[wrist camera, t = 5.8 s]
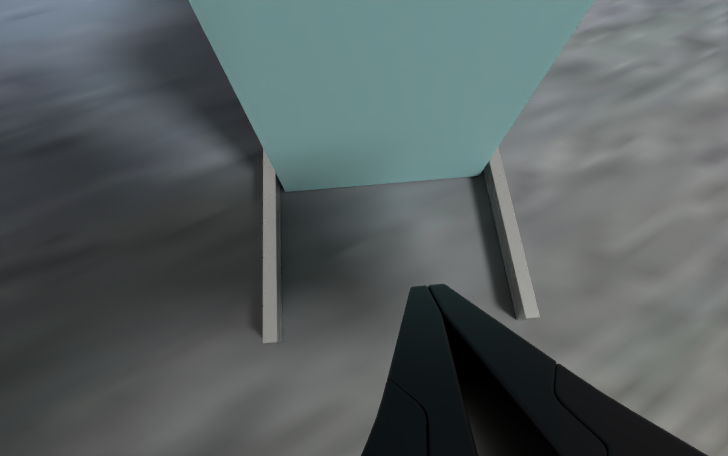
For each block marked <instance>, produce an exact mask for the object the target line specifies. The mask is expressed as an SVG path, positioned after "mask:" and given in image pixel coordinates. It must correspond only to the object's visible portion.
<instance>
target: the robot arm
mask: <svg viewBox="0 0 728 456" xmlns="http://www.w3.org/2000/svg"><path fill="white" fill-rule="evenodd" d="M361 456H708V455H706V454H704V453H702V452H701V451H699V450H697V449H696V448H694V447H692V446H691V445H689V444H687V443H686V442H684V441H682V440H680V439H679V438H677V437H675V436H674V435H672V434H670V433H669V432H667V431H665V430H664V429H662V428H660V427H659V426H657V425H655V424H653V423H652V422H650V421H648V420H647V419H645V418H643V417H642V416H640V415H638V414H637V413H635V412H633V411H632V410H630V409H628V408H627V407H625V406H623V405H622V404H620V403H619V402H617V401H615V400H614V399H612V398H610V397H609V396H607V395H605V394H604V393H602V392H601V391H599V390H598V389H596V388H595V387H593V386H592V385H590V384H589V383H587V382H586V381H584V380H583V379H581V378H580V377H578V376H577V375H575V374H574V373H572V372H571V371H569V370H568V369H566V368H565V367H564V366H562V365H561V364H557V365H556V361H555V360H553V359H552V358H550V357H549V356H547V355H546V354H545V353H543V352H542V351H540V350H539V349H537V348H536V347H535V346H533V345H532V344H530V343H529V342H527V341H526V340H524V339H523V338H522V337H520V336H519V335H517V334H516V333H514V332H513V331H511V330H510V329H509V328H507V327H506V326H504V325H503V324H501V323H500V322H498V321H497V320H496V319H494V318H493V317H491V316H490V315H488V314H487V313H485V312H484V311H483V310H481V309H480V308H478V307H477V306H475V305H474V304H473V303H471V302H470V301H468V300H467V299H465V298H464V297H462V296H461V295H460V294H458V293H457V292H455V291H454V290H452V289H451V288H449V287H448V286H447V285H445V284H436V285H429V286H428V287H427V286H414V287H411V288H410V292H409V296H408V300H407V304H406V307H405V311H404V315H403V319H402V323H401V327H400V331H399V335H398V339H397V343H396V347H395V351H394V355H393V359H392V363H391V367H390V371H389V375H388V379H387V382H386V386H385V389H384V393H383V397H382V400H381V404H380V407H379V410H378V414H377V417H376V419H375V422H374V425H373V427H372V430H371V433H370V435H369V438H368V440H367V443H366V445H365V447H364V450H363V452H362V454H361Z"/></svg>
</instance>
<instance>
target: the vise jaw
mask: <svg viewBox="0 0 728 456" xmlns="http://www.w3.org/2000/svg"><path fill="white" fill-rule="evenodd" d="M188 1H189V3H190V5H191V7H192V9H193V11H194V13H195V14H196V16H197V18H198V20H199V22H200V24H201V26H202V28H203V30H204V32H205V34H206V36H207V38H208V40H209V42H210V44H211V46H212V48H213V50H214V52H215V54H216V56H217V58H218V60H219V62H220V64H221V66H222V68H223V70H224V72H225V74H226V76H227V78H228V80H229V82H230V84H231V85H232V87H233V89H234V91H235V93H236V95H237V97H238V99H239V101H240V103H241V105H242V107H243V109H244V111H245V113H246V115H247V117H248V119H249V121H250V123H251V125H252V127H253V129H254V131H255V133H256V135H257V137H258V139H259V141H260V143H261V145H262V147H263V149H264V151H265V153H266V155H267V156H268V158H269V160H270V162H271V164H272V166H273V168H274V170H275V172H276V174H277V176H278V178H279V180H280V182H281V184H282V186H283V188H284V190H285V192H292V191H304V190H315V189H327V188H339V187H351V186H363V185H375V184H387V183H399V182H411V181H423V180H435V179H447V178H459V177H471V176H479V175H480V174H481V172H482V171H483V169H484V168H485V166H486V165H487V163H488V162H489V160H490V159H491V157H492V156H493V154H494V152H495V151H496V149H497V148H498V146H499V145H500V143H501V142H502V140H503V139H504V137H505V136H506V134H507V133H508V131H509V130H510V128H511V127H512V125H513V124H514V122H515V121H516V119H517V117H518V116H519V114H520V113H521V111H522V110H523V108H524V107H525V105H526V104H527V102H528V101H529V99H530V98H531V96H532V95H533V93H534V92H535V90H536V89H537V87H538V86H539V84H540V83H541V81H542V79H543V78H544V76H545V75H546V73H547V72H548V70H549V69H550V67H551V66H552V64H553V63H554V61H555V60H556V58H557V57H558V55H559V54H560V52H561V51H562V49H563V48H564V46H565V44H566V43H567V41H568V40H569V38H570V37H571V35H572V34H573V32H574V31H575V29H576V28H577V26H578V25H579V23H580V22H581V20H582V19H583V17H584V16H585V14H586V13H587V11H588V9H589V8H590V6H591V5H592V3H593V2H594V0H188Z"/></svg>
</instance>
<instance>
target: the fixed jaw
mask: <svg viewBox="0 0 728 456" xmlns="http://www.w3.org/2000/svg"><path fill="white" fill-rule="evenodd" d="M483 172H484V177H485V181H486V186H487V190H488V195H489V199H490V204H491V208H492V213H493V217H494V221H495V226H496V230H497V235H498V239H499V244H500V248H501V253H502V257H503V262H504V266H505V271H506V275H507V280H508V284H509V289H510V293H511V298H512V302H513V306H514V311H515V315H516V320H524V319H532V318H537V317H540V316H539V312H538V307H537V303H536V299H535V295H534V291H533V287H532V283H531V279H530V275H529V271H528V267H527V263H526V258H525V254H524V250H523V246H522V242H521V238H520V234H519V230H518V226H517V222H516V218H515V214H514V209H513V205H512V201H511V197H510V193H509V189H508V185H507V181H506V177H505V173H504V169H503V165H502V160H501V156H500V152H499V148H497V149H496V151H495V152H494V154H493V156H492V157H491V159H490V160H489V162H488V163H487V165H486V166H485V168H484V169H483ZM281 342H282V279H281V214H280V180H279V178H278V176H277V174H276V172H275V170H274V168H273V166H272V164H271V162H270V160H269V158H268V156H267V155H266V153H265V151H264V149H263V343H266V344H271V343H281Z"/></svg>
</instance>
